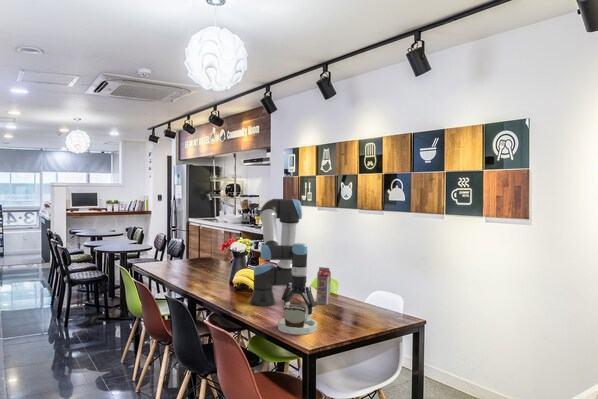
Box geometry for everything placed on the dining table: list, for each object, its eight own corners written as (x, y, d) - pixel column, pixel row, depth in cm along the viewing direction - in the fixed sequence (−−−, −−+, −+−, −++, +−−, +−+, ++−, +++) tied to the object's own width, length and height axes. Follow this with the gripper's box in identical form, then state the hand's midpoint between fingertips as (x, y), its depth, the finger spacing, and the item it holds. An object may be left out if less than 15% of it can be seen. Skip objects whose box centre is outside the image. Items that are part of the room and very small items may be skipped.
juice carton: (319, 301, 271) (320, 266, 270) (329, 302, 268) (331, 267, 268) (316, 303, 264) (317, 267, 264) (326, 304, 262) (327, 268, 262)
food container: (309, 325, 214) (310, 305, 214) (306, 329, 208) (306, 308, 208) (286, 323, 218) (286, 303, 218) (282, 326, 212) (282, 306, 212)
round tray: (270, 328, 212) (270, 322, 212) (295, 320, 226) (295, 315, 226) (299, 337, 199) (299, 330, 199) (324, 328, 214) (324, 322, 214)
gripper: (275, 272, 218) (274, 314, 218) (313, 279, 202) (312, 324, 202) (285, 270, 223) (284, 311, 224) (323, 277, 207) (322, 321, 207)
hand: (297, 318), depth 213 cm, fingers open, 13 cm apart
